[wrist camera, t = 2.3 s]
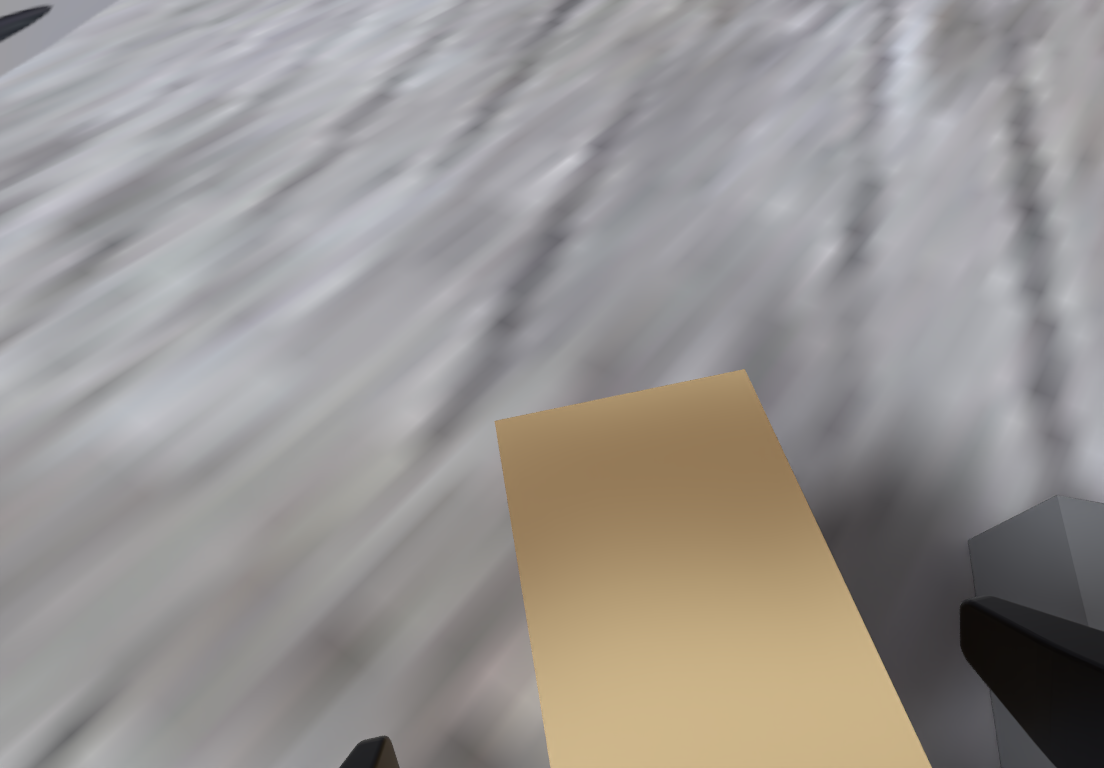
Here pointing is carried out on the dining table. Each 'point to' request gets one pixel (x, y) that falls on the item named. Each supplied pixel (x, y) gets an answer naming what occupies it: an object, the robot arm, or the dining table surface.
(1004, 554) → the end cap
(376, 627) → the dining table surface
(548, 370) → the dining table surface
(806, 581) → the block
